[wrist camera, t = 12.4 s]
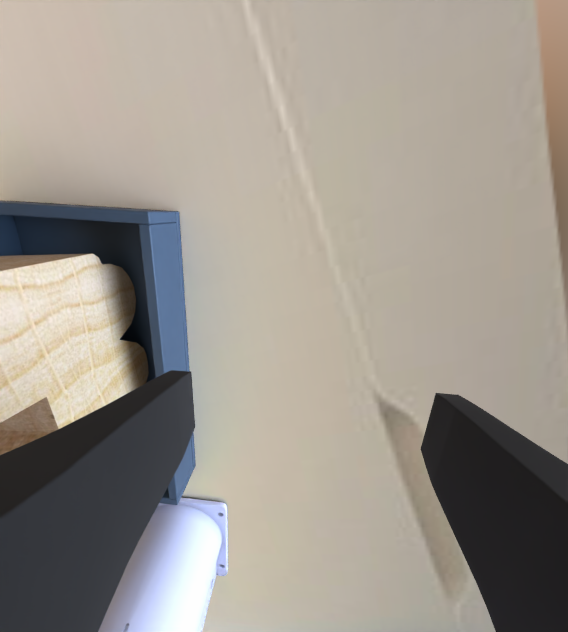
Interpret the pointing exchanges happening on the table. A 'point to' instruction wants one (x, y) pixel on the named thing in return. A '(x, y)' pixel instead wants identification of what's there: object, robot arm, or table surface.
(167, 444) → the robot arm
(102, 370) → the toy train
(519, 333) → the table surface
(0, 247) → the open box
